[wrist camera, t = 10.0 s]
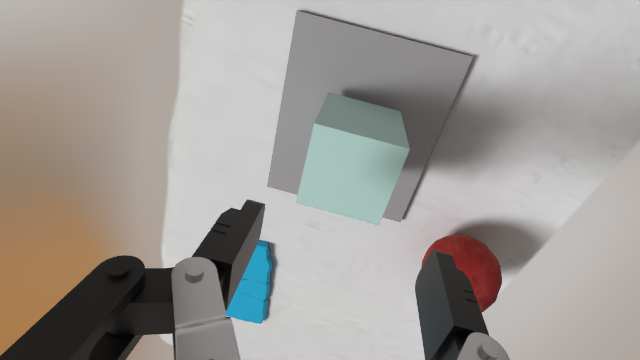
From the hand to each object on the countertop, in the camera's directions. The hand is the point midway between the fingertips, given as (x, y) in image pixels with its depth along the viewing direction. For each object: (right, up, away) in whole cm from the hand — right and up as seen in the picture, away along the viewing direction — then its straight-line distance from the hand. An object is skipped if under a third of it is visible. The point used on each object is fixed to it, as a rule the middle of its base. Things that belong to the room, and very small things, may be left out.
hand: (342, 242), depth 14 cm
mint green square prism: (+2, +6, +11) cm, 12 cm away
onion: (+11, -3, +16) cm, 20 cm away
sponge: (-8, -8, +22) cm, 25 cm away
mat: (+2, +7, +12) cm, 14 cm away
